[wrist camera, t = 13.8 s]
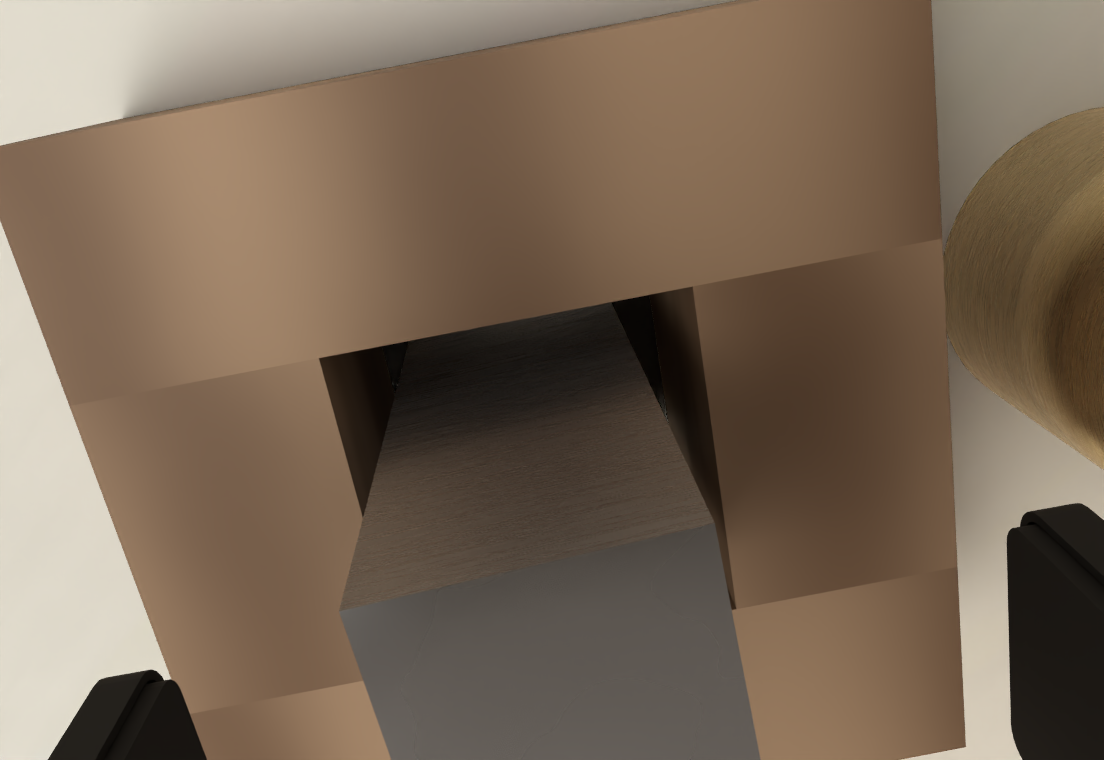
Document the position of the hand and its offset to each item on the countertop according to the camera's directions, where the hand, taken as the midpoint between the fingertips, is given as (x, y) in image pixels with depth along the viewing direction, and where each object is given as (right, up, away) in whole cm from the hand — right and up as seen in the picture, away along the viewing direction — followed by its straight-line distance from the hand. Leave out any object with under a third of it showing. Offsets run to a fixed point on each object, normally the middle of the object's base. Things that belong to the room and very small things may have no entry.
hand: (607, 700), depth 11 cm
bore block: (-1, +4, +11) cm, 12 cm away
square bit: (-1, +4, +11) cm, 12 cm away
